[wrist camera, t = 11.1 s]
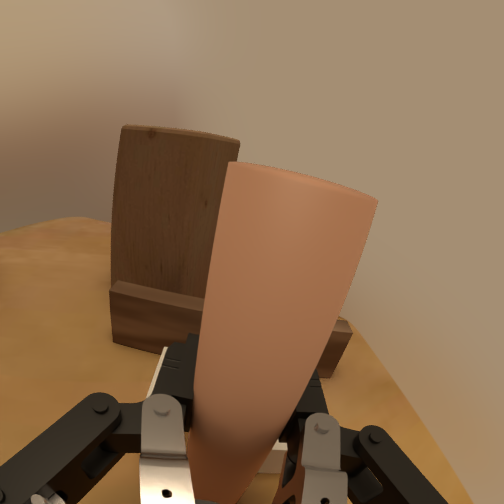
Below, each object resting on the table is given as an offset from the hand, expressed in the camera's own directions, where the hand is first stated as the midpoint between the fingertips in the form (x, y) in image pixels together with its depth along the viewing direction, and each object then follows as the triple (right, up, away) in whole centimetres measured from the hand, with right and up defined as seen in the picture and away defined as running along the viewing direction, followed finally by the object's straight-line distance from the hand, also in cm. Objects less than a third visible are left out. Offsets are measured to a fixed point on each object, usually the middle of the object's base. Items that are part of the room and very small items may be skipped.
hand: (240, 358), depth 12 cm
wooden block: (-11, -1, +23) cm, 26 cm away
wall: (-2, -6, +14) cm, 16 cm away
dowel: (-2, -10, +1) cm, 10 cm away
